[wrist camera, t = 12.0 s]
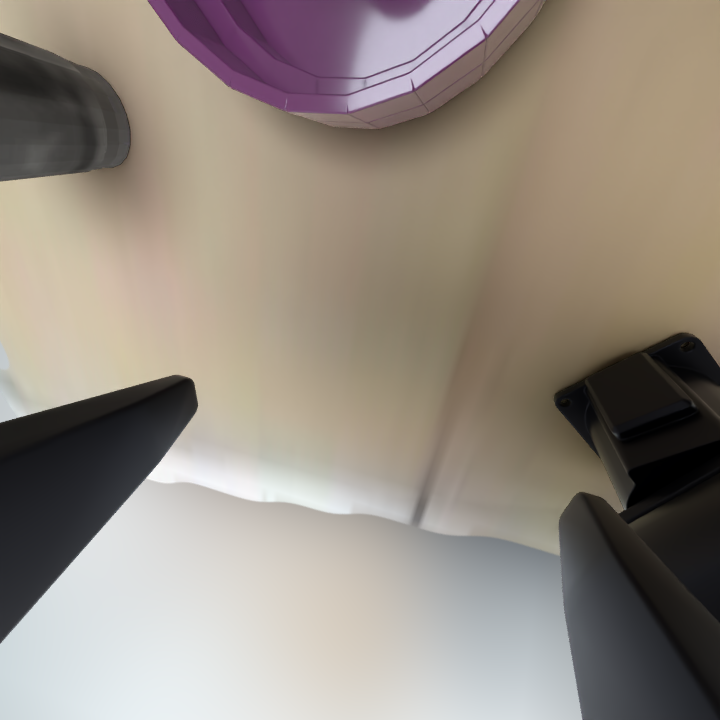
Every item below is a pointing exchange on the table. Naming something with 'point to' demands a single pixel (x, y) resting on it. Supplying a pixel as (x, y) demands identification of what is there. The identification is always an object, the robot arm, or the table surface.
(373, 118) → the plum bowl
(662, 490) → the robot arm
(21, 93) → the beverage cup
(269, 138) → the table surface
